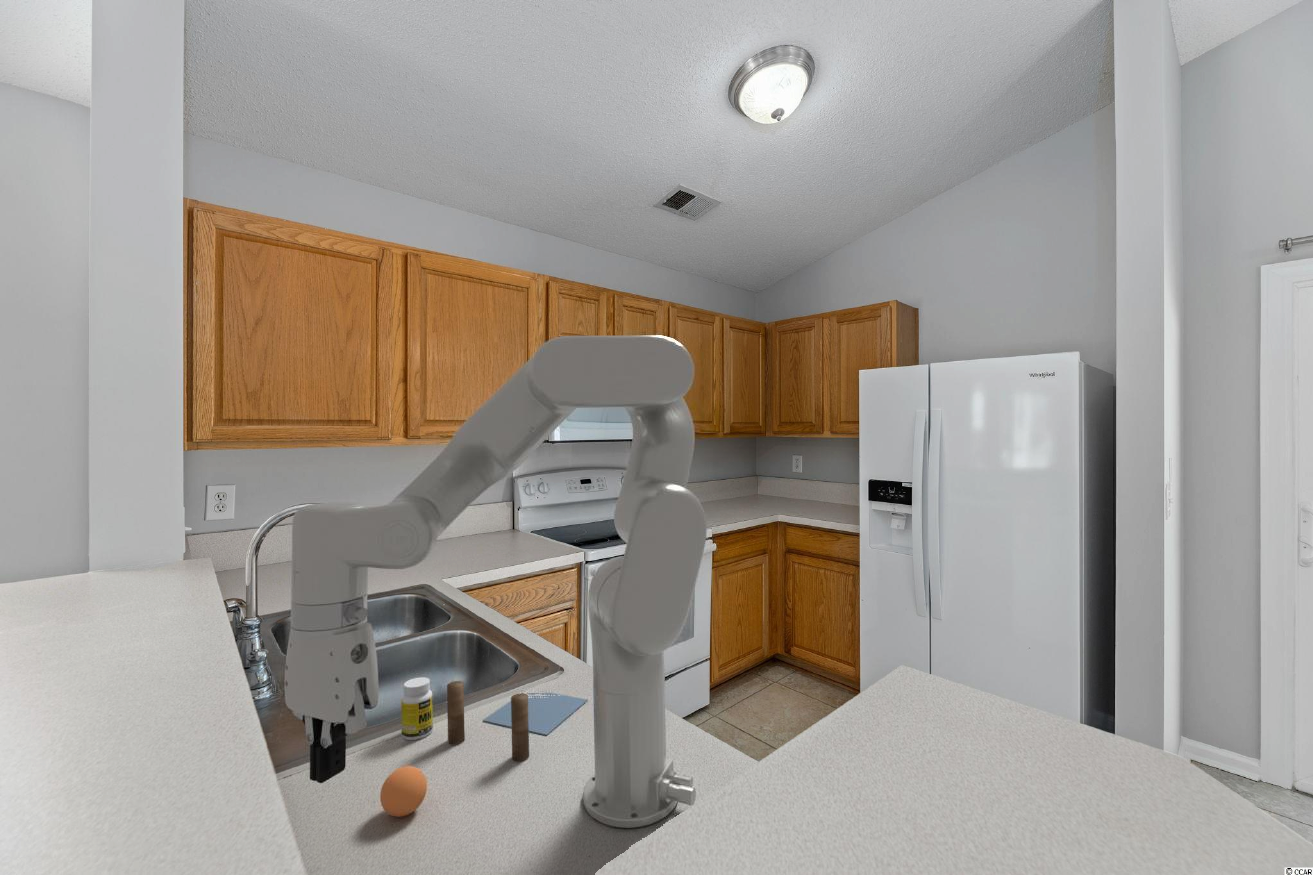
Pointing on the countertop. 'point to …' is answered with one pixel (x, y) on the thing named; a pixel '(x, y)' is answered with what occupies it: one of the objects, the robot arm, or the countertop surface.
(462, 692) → the post far
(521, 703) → the post near
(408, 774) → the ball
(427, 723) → the supplement bottle
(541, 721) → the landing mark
